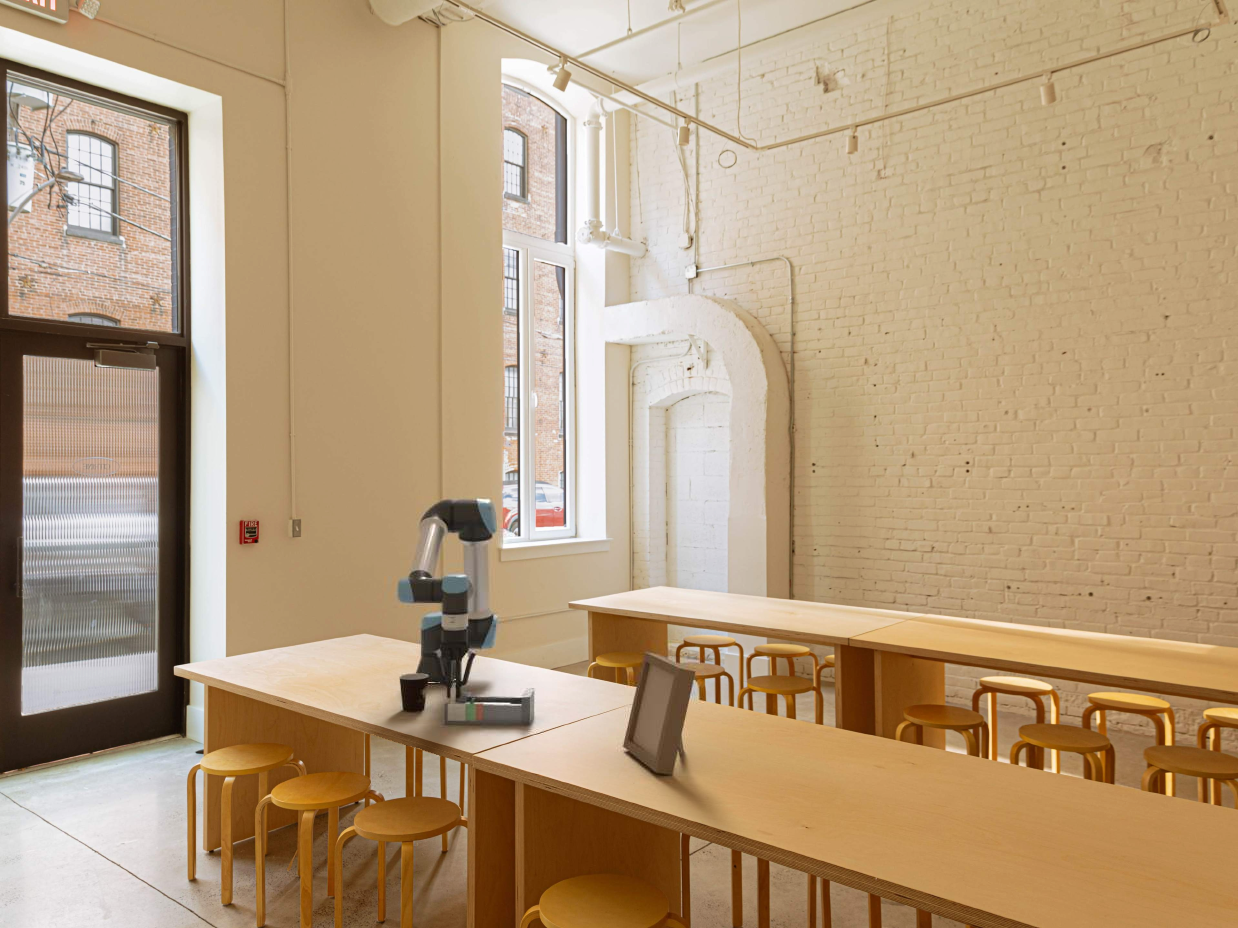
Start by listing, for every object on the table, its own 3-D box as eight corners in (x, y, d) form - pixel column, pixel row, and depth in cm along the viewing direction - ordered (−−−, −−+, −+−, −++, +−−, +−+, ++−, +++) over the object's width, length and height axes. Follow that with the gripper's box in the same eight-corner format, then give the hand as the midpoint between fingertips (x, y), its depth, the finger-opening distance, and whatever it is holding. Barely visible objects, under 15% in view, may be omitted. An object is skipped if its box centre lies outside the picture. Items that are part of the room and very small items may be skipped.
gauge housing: (452, 714, 256) (452, 687, 256) (534, 715, 256) (534, 688, 256) (444, 724, 245) (444, 696, 245) (529, 725, 244) (529, 697, 245)
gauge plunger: (463, 711, 254) (463, 690, 254) (511, 711, 253) (511, 691, 254) (456, 720, 244) (457, 698, 244) (506, 720, 244) (506, 699, 244)
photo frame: (655, 776, 202) (657, 669, 203) (622, 750, 222) (624, 652, 223) (712, 770, 207) (714, 666, 208) (675, 745, 227) (676, 650, 228)
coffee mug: (411, 714, 255) (411, 680, 256) (393, 709, 261) (393, 676, 261) (441, 706, 265) (442, 674, 265) (423, 702, 270) (423, 670, 270)
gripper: (429, 629, 247) (428, 712, 247) (474, 630, 247) (473, 712, 247) (435, 625, 255) (434, 705, 254) (479, 626, 255) (478, 706, 254)
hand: (453, 709), depth 250 cm, fingers closed
